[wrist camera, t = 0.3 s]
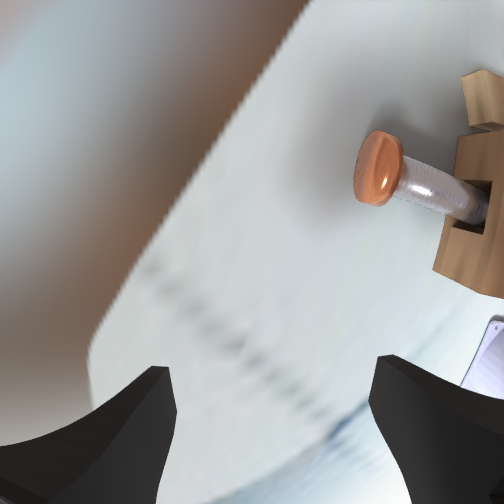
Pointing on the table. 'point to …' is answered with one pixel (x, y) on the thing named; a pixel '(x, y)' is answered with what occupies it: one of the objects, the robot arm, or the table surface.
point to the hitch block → (469, 236)
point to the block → (484, 100)
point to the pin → (414, 182)
